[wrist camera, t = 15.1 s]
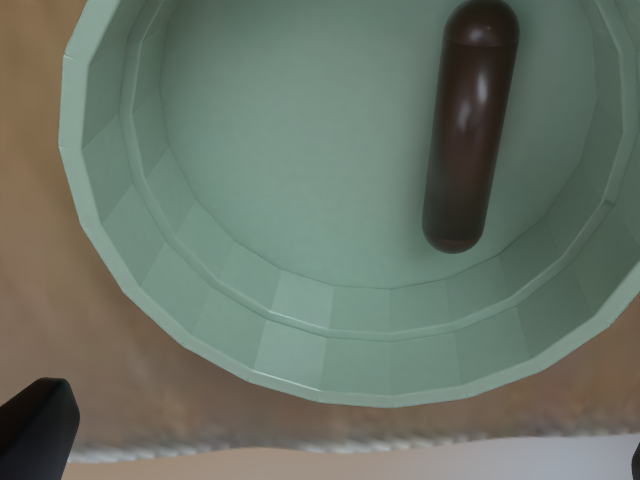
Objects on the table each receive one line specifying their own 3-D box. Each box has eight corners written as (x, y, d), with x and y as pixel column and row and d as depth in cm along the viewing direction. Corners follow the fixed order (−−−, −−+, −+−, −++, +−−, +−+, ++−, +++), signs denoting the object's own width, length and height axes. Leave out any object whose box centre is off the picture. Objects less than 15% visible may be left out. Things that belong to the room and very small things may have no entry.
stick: (439, 1, 15) (456, -15, 16) (411, 257, 19) (427, 226, 21) (521, 8, 14) (531, -9, 16) (472, 272, 19) (484, 239, 20)
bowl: (703, -173, 14) (850, -176, 9) (558, 308, 23) (599, 425, 18) (92, -169, 15) (-33, -171, 11) (175, 284, 24) (126, 388, 19)
